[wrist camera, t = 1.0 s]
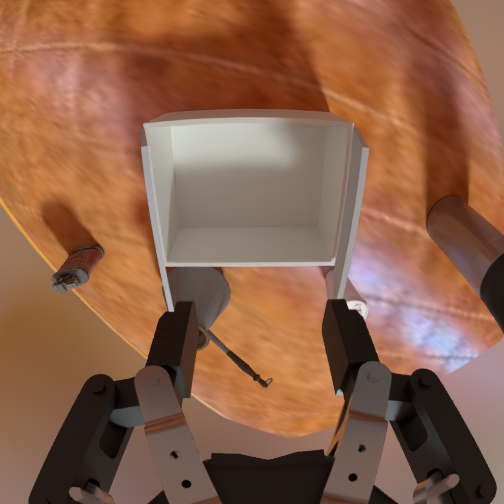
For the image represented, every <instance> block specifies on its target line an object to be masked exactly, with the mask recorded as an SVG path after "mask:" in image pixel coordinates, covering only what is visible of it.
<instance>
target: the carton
mask: <svg viewBox="0 0 504 504" xmlns="http://www.w3.org/2000/svg"><path fill="white" fill-rule="evenodd" d="M143 127H144V129H145V134H146V139H147V144H148V152H149V162H150V171H151V179H152V187H153V194H154V202H155V209H156V215H157V222H158V228H159V235H160V241H161V246H162V252H163V258H164V263H165V266H168V267H243V266H335V260H336V254H337V249H338V243H339V237H340V230H341V224H342V217H343V210H344V203H345V196H346V188H347V180H348V172H349V163H350V154H351V144H352V133H353V127H354V123H353V122H351V121H349V120H347V119H344V118H342V117H340V116H338V115H336V114H333V113H331V112H322V111H307V110H288V109H215V110H195V111H181V112H170V113H165V114H163V115H161V116H158V117H156V118H154V119H152V120H150V121H148V122H146V123H143Z"/></svg>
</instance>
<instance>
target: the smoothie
mask: <svg viewBox="0 0 504 504" xmlns="http://www.w3.org/2000/svg"><path fill="white" fill-rule="evenodd" d="M325 282H326V290H327V298H328V299H333V286H334V269H333V270H331V271H329V272H328V273H327V274H326V276H325ZM343 299H345V300H346V302H347V305H348V308H349V310H354V309H356V310H357V311H358V312H359V313H360V314H361V315H362V316H363V318H364V320H365V319H366V317H367V315H368V311H369V310H368V306H367V303H366V301H365V300H364V299H363V298H361V297H360V295H359V294H358V292H357V291H356V289H355V287H354V286H353V284H352V283H351V281H350V280H349V278H348V277H347V281H346V286H345V290H344V294H343Z"/></svg>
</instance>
